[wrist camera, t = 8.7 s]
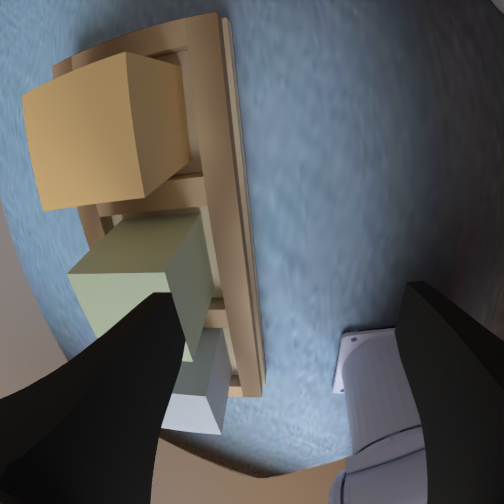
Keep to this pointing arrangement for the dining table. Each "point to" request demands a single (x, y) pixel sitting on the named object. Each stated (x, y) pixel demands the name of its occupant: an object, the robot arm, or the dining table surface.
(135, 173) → the ochre block
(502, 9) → the pillar candle
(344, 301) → the dining table surface
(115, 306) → the sage block
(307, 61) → the dining table surface
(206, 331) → the blue-grey block
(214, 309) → the slot board
